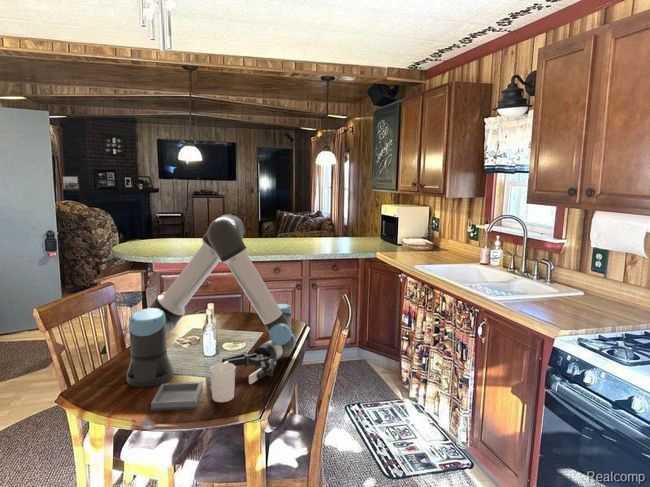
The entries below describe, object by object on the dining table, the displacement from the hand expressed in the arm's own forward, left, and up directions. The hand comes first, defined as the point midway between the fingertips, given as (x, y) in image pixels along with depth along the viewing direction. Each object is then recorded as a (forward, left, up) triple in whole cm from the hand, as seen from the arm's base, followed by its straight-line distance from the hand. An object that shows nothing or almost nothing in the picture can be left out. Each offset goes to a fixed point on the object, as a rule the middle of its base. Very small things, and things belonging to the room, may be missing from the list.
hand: (232, 376), depth 146 cm
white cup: (+3, -3, -6) cm, 7 cm away
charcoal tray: (+3, -17, -6) cm, 18 cm away
